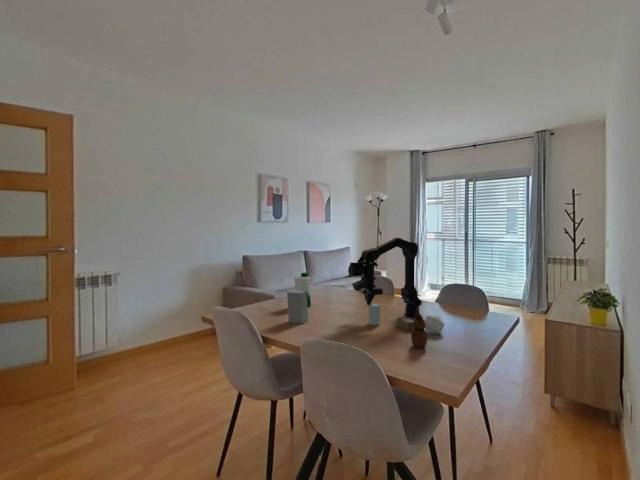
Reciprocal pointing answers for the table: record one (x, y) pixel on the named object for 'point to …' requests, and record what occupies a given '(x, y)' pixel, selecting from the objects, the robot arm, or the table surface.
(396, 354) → the table surface
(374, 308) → the blue-grey block
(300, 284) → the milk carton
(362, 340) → the table surface
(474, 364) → the table surface
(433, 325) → the die
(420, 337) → the wooden figurine
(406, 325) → the walnut block
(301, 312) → the skincare box
